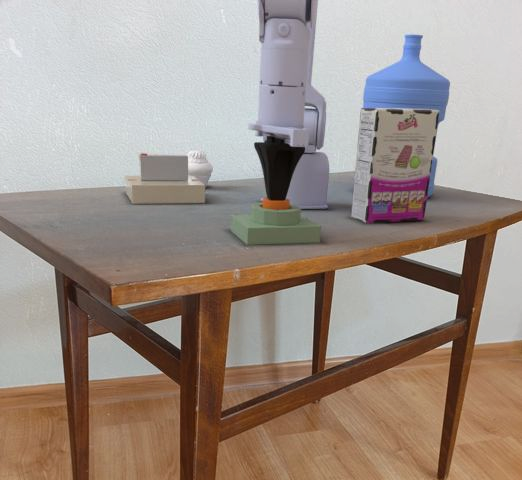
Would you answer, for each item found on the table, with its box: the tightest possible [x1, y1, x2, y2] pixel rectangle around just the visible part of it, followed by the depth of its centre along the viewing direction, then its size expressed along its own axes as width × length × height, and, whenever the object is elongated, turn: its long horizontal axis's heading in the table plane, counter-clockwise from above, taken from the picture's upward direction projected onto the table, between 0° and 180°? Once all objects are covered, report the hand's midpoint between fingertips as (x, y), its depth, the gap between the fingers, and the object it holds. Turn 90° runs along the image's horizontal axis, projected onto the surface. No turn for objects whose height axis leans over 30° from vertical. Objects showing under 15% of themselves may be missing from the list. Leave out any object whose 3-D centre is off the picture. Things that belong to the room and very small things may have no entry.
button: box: [261, 196, 290, 210], centre depth 78 cm, size 4×4×2 cm
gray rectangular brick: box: [138, 152, 188, 180], centre depth 99 cm, size 8×2×4 cm, turn 108°
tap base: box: [124, 175, 206, 205], centre depth 101 cm, size 12×12×3 cm
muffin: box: [186, 148, 214, 187], centre depth 112 cm, size 6×6×7 cm
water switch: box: [230, 201, 322, 246], centre depth 79 cm, size 10×8×4 cm
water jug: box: [353, 34, 451, 199], centre depth 112 cm, size 16×16×28 cm
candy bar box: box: [350, 107, 440, 224], centre depth 91 cm, size 11×5×16 cm, turn 114°
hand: (276, 199), depth 78 cm, fingers closed, pressing on button
